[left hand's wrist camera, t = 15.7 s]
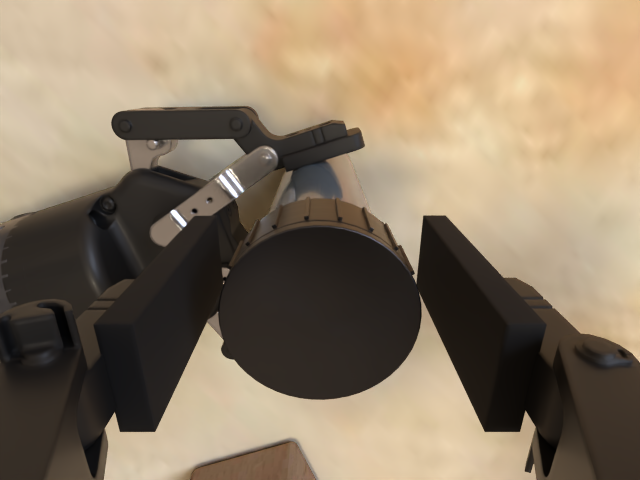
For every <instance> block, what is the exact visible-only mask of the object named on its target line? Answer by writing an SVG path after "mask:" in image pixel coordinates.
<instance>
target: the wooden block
mask: <svg viewBox="0 0 640 480" xmlns="http://www.w3.org/2000/svg"><path fill="white" fill-rule="evenodd" d="M190 480H316V479H315V477H314V475H313V473H312V472H311V470H310V468H309V466H308V464H307V462H306V460H305V459H304V457H303V455H302V453H301V451H300V449H299V448H298V446H297V444H296V443H295V442H289V443H286V444H282V445H278V446H275V447H271V448H268V449H264V450H261V451H257V452H253V453H250V454H246V455H243V456H239V457H236V458H232V459H228V460H225V461H221V462H218V463H214V464H211V465H207V466H204V467H200V468H197V469H195V470H194V471H193V473H192V476H191V479H190Z"/></svg>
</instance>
